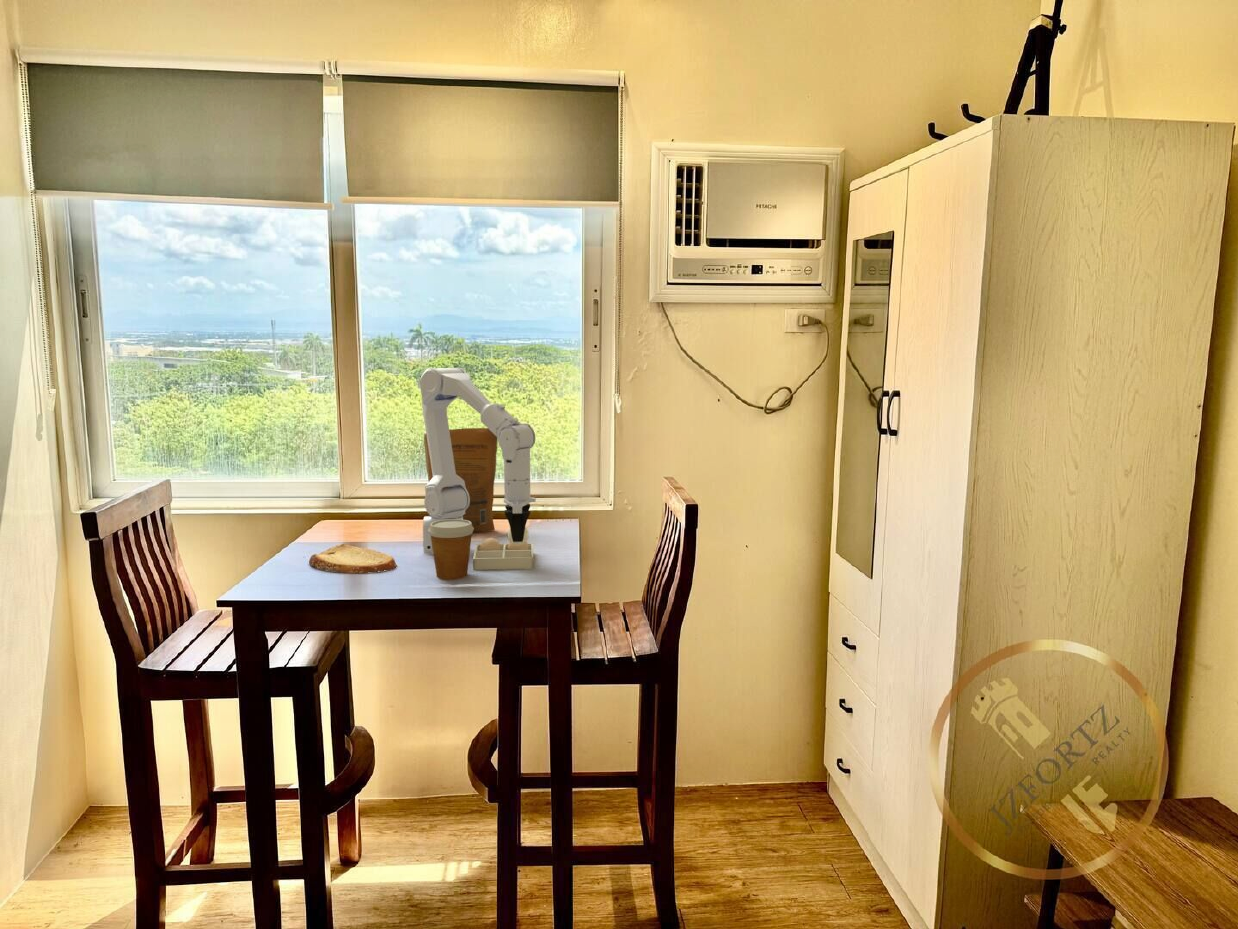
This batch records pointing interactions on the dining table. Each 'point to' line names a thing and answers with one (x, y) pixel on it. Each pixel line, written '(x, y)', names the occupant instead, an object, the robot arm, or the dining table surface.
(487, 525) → the pancake mix bag
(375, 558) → the slice of bread
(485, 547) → the brown egg left
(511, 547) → the brown egg right
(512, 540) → the white egg
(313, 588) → the dining table surface
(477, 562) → the egg carton
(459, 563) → the disposable coffee cup
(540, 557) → the dining table surface
